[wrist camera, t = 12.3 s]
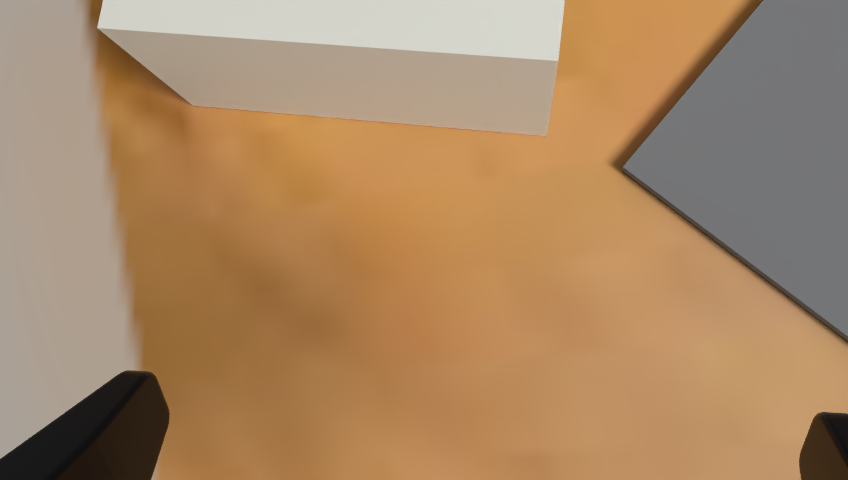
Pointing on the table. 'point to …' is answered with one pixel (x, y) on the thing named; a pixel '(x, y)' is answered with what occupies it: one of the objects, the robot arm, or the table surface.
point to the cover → (354, 57)
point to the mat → (767, 152)
